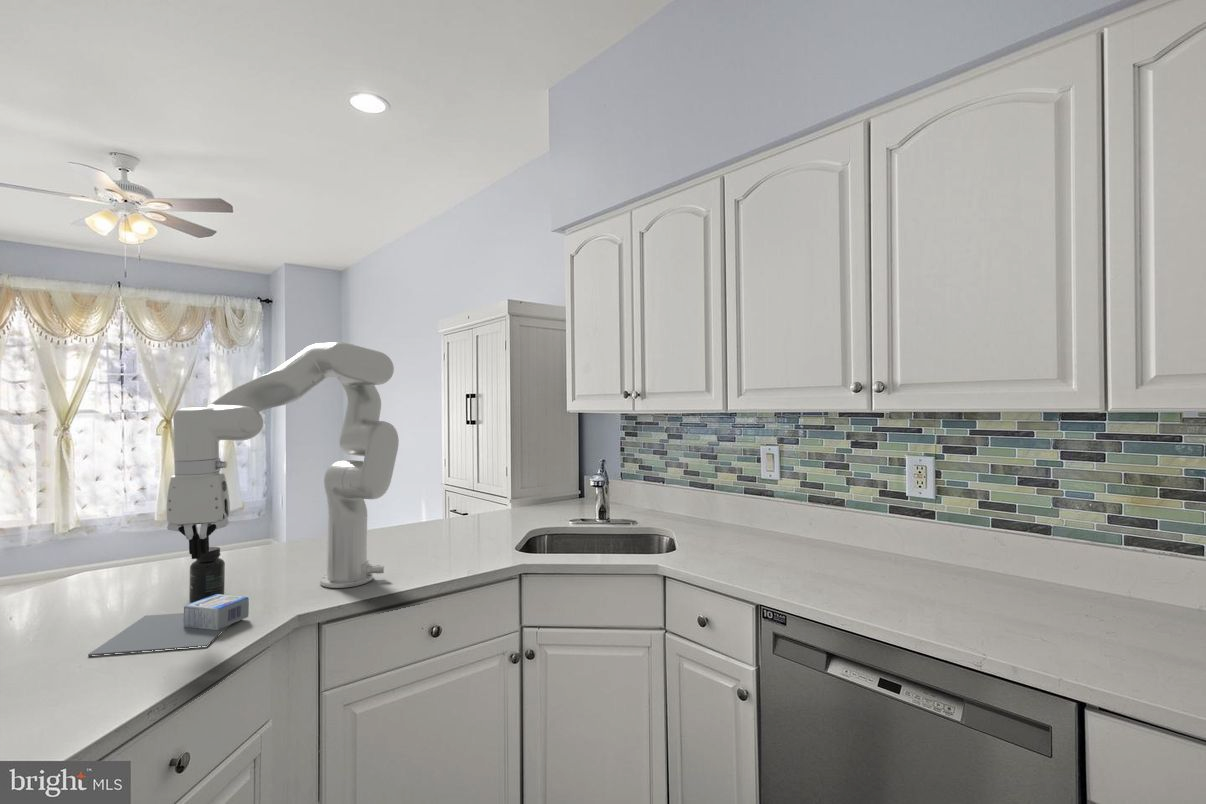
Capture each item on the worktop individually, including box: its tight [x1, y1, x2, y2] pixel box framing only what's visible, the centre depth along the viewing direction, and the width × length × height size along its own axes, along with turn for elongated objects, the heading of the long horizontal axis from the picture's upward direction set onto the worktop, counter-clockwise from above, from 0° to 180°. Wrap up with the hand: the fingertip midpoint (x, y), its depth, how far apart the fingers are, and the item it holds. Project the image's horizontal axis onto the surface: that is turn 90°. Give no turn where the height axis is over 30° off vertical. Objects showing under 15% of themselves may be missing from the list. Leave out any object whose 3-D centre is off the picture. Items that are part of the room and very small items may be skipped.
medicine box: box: [183, 594, 250, 630], centre depth 122 cm, size 8×4×9 cm
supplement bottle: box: [188, 546, 226, 604], centre depth 137 cm, size 7×7×12 cm
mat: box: [87, 612, 230, 657], centre depth 118 cm, size 19×20×1 cm
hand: (199, 556), depth 120 cm, fingers closed
